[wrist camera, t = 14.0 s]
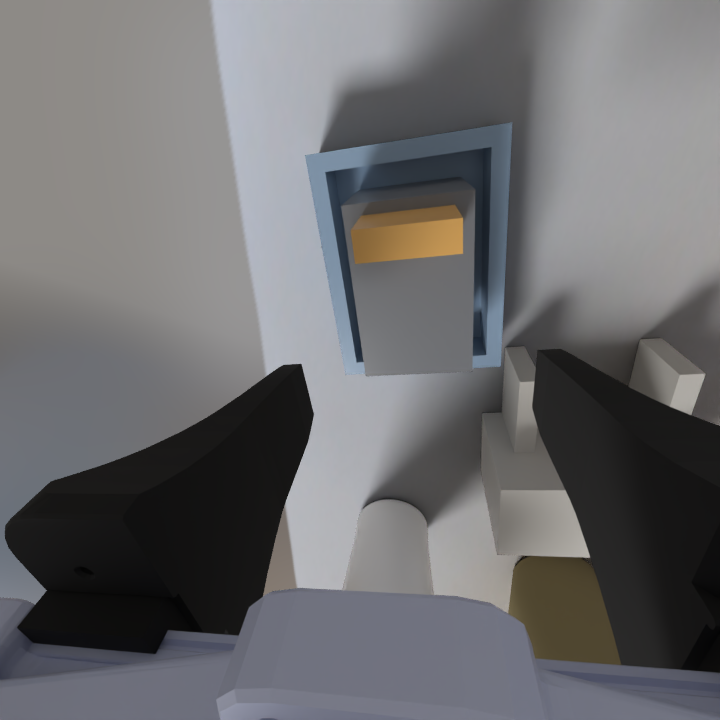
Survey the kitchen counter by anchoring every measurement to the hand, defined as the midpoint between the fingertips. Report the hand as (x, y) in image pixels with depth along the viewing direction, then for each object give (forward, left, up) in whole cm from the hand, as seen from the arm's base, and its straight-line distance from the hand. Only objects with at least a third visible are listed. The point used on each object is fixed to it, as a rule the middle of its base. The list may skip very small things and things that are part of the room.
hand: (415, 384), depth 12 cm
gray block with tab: (0, -2, -9) cm, 9 cm away
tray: (0, -2, -9) cm, 10 cm away
